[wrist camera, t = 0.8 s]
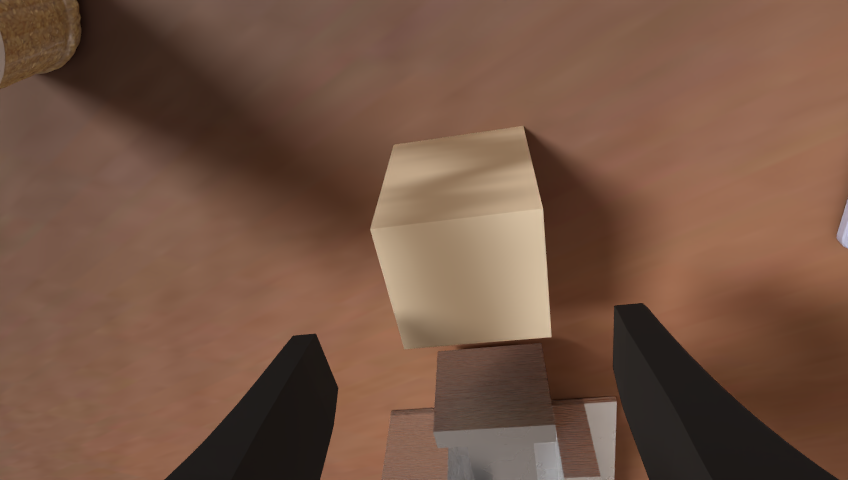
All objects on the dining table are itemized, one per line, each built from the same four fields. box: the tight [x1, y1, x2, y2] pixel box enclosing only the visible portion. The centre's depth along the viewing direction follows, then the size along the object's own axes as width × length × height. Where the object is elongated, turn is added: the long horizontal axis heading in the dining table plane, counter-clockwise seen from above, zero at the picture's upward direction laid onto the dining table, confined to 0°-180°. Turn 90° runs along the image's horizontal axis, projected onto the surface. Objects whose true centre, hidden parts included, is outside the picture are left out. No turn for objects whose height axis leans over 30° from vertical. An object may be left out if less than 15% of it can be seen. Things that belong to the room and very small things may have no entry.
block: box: [370, 126, 551, 349], centre depth 17 cm, size 4×4×6 cm
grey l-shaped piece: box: [433, 343, 556, 480], centre depth 23 cm, size 8×8×4 cm
